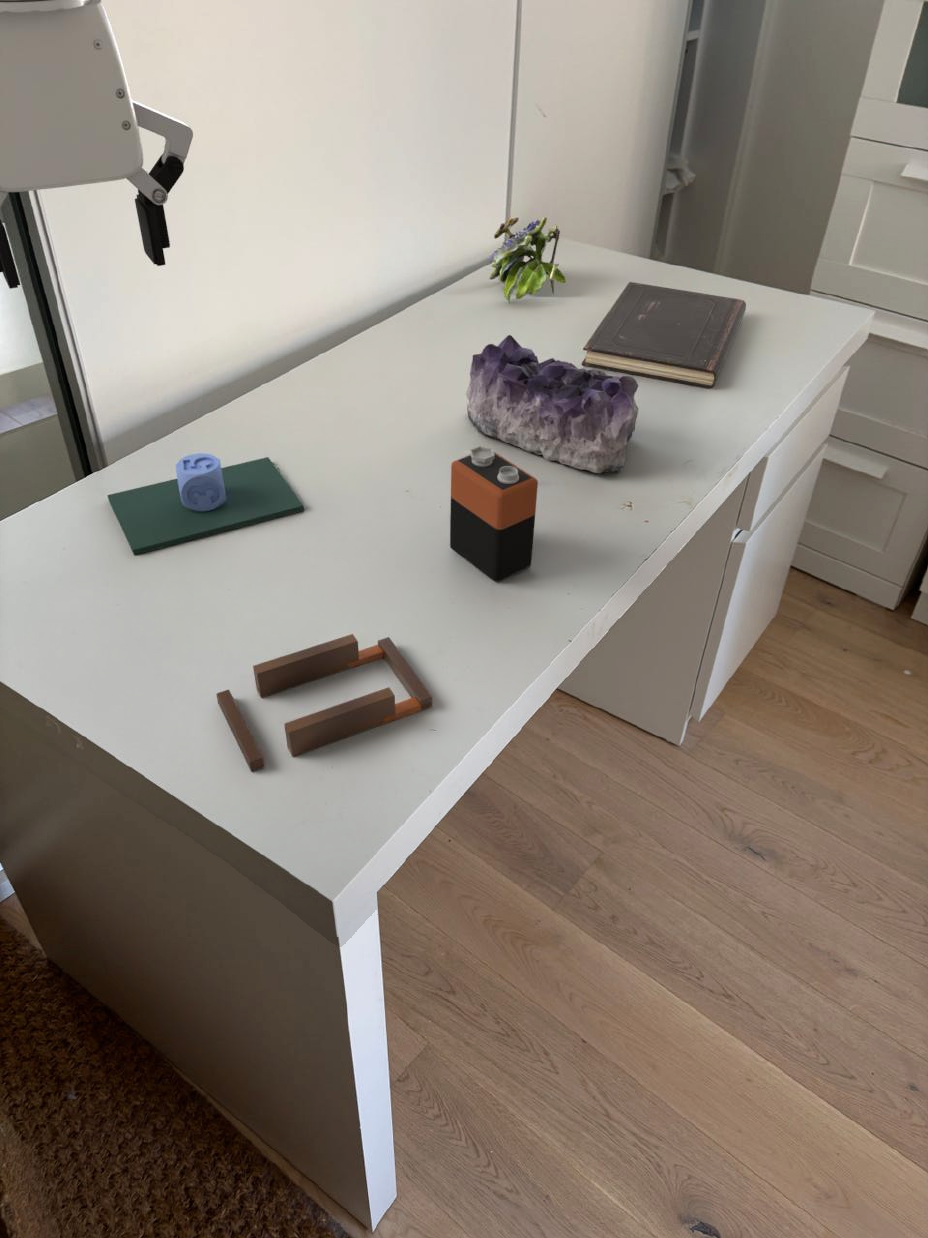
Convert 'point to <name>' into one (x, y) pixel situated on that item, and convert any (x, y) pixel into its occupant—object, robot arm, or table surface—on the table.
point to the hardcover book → (666, 334)
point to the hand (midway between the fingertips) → (85, 270)
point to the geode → (552, 407)
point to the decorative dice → (200, 482)
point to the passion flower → (512, 257)
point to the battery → (492, 513)
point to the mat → (165, 521)
